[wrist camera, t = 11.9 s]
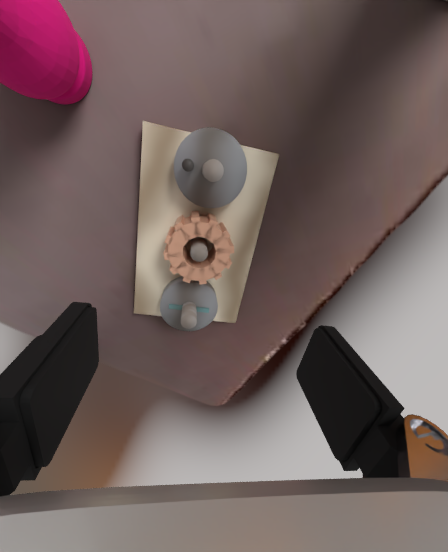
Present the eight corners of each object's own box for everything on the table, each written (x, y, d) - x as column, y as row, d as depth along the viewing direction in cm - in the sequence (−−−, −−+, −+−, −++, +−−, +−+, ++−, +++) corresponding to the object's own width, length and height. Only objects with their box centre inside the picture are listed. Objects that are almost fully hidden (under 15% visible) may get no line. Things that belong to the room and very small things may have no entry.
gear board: (276, 149, 26) (300, 142, 20) (232, 320, 35) (240, 350, 29) (146, 116, 23) (129, 98, 17) (136, 310, 32) (123, 342, 26)
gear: (234, 217, 27) (240, 224, 23) (222, 273, 29) (226, 287, 26) (171, 205, 25) (167, 211, 22) (165, 265, 28) (160, 279, 25)
